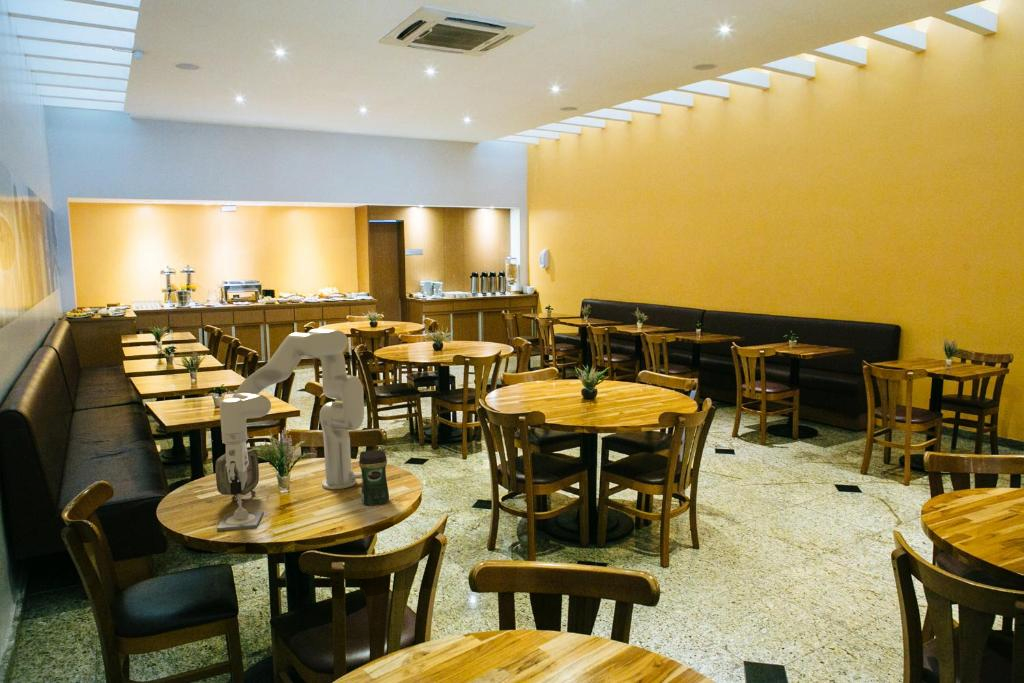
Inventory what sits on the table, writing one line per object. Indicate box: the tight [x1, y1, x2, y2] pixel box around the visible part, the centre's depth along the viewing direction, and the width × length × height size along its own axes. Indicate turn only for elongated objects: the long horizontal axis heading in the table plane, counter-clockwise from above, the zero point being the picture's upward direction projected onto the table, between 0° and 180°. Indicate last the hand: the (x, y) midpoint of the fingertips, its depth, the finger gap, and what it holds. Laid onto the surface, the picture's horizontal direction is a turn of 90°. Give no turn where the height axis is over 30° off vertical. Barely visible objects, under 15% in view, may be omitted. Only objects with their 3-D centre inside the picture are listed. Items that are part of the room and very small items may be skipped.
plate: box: [216, 510, 264, 532], centre depth 223 cm, size 12×12×1 cm
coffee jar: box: [358, 448, 390, 506], centre depth 238 cm, size 10×8×19 cm
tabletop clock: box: [214, 449, 260, 507], centre depth 241 cm, size 14×9×25 cm, turn 175°
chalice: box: [226, 461, 249, 519], centre depth 222 cm, size 7×7×18 cm
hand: (238, 489), depth 222 cm, fingers closed on chalice, 6 cm apart
